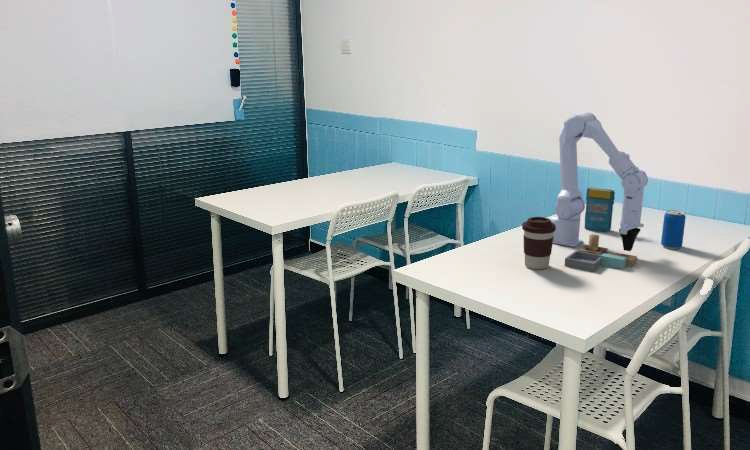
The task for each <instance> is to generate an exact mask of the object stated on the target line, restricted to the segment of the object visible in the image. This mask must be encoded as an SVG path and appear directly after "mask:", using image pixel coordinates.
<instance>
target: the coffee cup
mask: <svg viewBox="0 0 750 450" xmlns="http://www.w3.org/2000/svg"><path fill="white" fill-rule="evenodd" d="M521 227H522V230H523V254H524V266H525V267H526V268H529V269H532V270H545V269H548V268H549V266H550V261H551V255H552V249H553V244H554V243H553V232H554V231H555V230H556V225H555V224H554V223H552V222H551V219H550V218H548V217H545V216H544V217H543V216H530V217H529V218H527V221H523V223H522V225H521Z"/></svg>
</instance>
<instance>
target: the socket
mask: <svg viewBox="0 0 750 450" xmlns="http://www.w3.org/2000/svg"><path fill="white" fill-rule="evenodd" d="M588 246H589V244H585V245H584V246H582V247H581V248H579V249H578V250H577V251H581V252H586V253H592V254H597V255H602V254H603V253H606V254H608V250H609V248H608V247H604V246H603V247H602V246H598V252H595V251H589V250H588Z"/></svg>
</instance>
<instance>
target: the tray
mask: <svg viewBox="0 0 750 450" xmlns="http://www.w3.org/2000/svg"><path fill="white" fill-rule="evenodd" d="M600 256H601V255H597V254H592V253H586V252H581V251H578V250H575V251H573V252H571V254H569V255H567V256H566V257H565V258H564V267H570V268H574V269H579V270H584V271H587V272H588V271H590V272H595V271H596V270H597V269H599V267H601V266H602V265H601V262H602V257H600Z"/></svg>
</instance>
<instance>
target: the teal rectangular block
mask: <svg viewBox="0 0 750 450" xmlns="http://www.w3.org/2000/svg"><path fill="white" fill-rule="evenodd" d="M600 257H602V262H601V266H603V267H604V266H605V267H609V268H613V269H620V270H623V269H625V268H626V267H627V266H626V258H627V257H622V256H617V255H611V254H609V253H607V254H606V253H603V254H602V255H601V256H600Z"/></svg>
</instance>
